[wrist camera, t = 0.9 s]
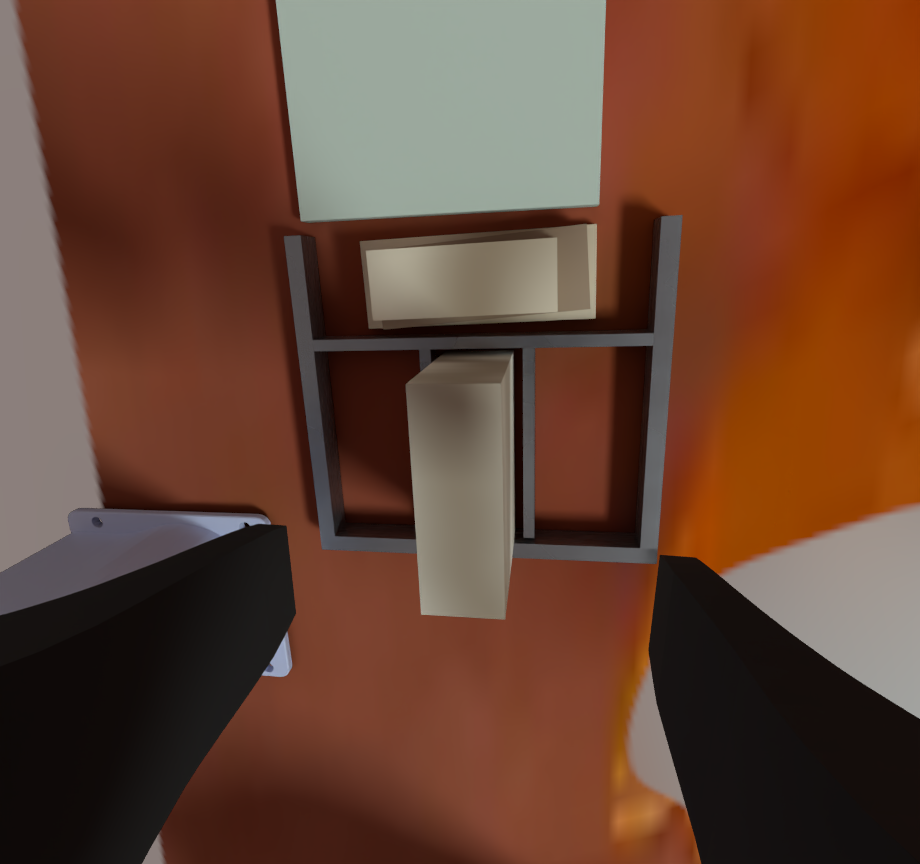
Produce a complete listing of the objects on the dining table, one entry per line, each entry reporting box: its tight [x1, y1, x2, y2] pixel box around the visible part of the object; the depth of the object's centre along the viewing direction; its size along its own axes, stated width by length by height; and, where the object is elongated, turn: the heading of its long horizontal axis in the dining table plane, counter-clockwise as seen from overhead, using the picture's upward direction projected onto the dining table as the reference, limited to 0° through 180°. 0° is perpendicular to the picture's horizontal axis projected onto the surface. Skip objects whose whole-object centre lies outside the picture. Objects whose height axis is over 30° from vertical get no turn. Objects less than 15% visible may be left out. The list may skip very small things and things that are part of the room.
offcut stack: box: [360, 224, 597, 330], centre depth 18 cm, size 8×3×2 cm, turn 93°
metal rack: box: [284, 215, 682, 564], centre depth 19 cm, size 13×12×1 cm
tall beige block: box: [406, 350, 516, 619], centre depth 18 cm, size 2×7×6 cm, turn 2°
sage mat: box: [276, 0, 606, 223], centre depth 17 cm, size 10×8×1 cm
